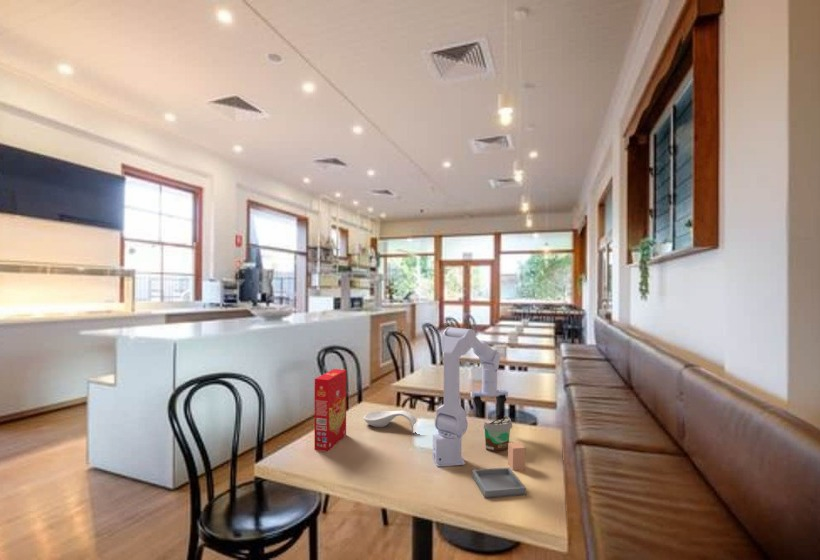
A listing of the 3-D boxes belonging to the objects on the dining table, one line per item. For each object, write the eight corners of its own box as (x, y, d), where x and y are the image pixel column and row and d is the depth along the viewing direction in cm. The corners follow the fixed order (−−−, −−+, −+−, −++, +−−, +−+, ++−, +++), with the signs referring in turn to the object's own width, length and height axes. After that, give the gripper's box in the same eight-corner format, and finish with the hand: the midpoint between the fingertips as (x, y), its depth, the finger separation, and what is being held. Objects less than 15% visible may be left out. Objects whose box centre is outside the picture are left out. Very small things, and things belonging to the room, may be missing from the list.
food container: (497, 457, 137) (497, 428, 137) (483, 450, 142) (483, 422, 142) (519, 447, 145) (519, 419, 145) (505, 441, 150) (505, 414, 149)
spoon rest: (358, 426, 163) (358, 409, 163) (373, 417, 174) (373, 400, 174) (410, 438, 153) (410, 419, 152) (423, 427, 163) (423, 409, 163)
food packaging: (328, 451, 140) (328, 380, 140) (314, 449, 142) (314, 378, 141) (346, 434, 155) (346, 369, 154) (333, 433, 156) (333, 368, 155)
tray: (485, 498, 112) (485, 491, 112) (472, 476, 124) (472, 469, 124) (525, 494, 114) (525, 488, 114) (509, 473, 126) (509, 467, 126)
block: (512, 470, 128) (513, 448, 128) (507, 464, 132) (508, 443, 132) (524, 469, 129) (525, 447, 129) (519, 463, 133) (519, 442, 133)
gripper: (503, 376, 161) (503, 410, 161) (468, 378, 159) (467, 412, 159) (510, 381, 154) (510, 417, 154) (473, 383, 152) (473, 418, 152)
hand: (489, 415), depth 156 cm, fingers open, 7 cm apart
